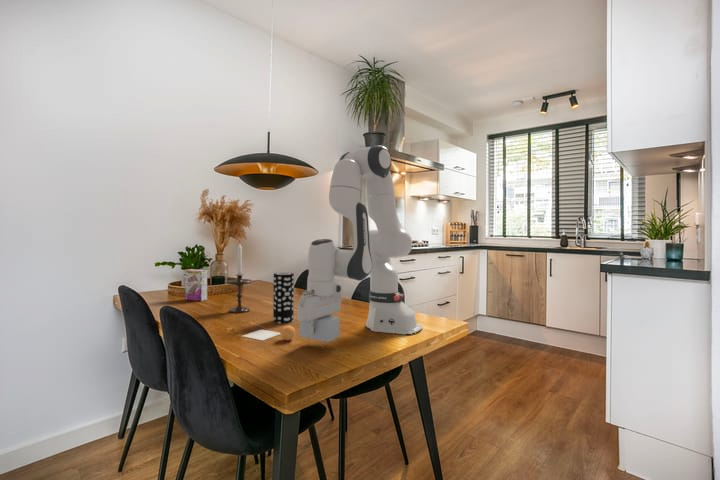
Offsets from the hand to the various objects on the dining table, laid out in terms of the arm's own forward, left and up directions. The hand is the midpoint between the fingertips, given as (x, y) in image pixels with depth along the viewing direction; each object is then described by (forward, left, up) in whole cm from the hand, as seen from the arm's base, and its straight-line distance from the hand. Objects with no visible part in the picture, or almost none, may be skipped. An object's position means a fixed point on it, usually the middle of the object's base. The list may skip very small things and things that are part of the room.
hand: (319, 330), depth 119 cm
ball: (+14, -1, -3) cm, 14 cm away
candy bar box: (+103, -32, -6) cm, 107 cm away
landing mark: (+26, -1, -5) cm, 26 cm away
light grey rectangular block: (0, 0, -2) cm, 2 cm away
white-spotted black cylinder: (+33, -21, -6) cm, 39 cm away
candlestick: (+63, -25, -6) cm, 67 cm away
